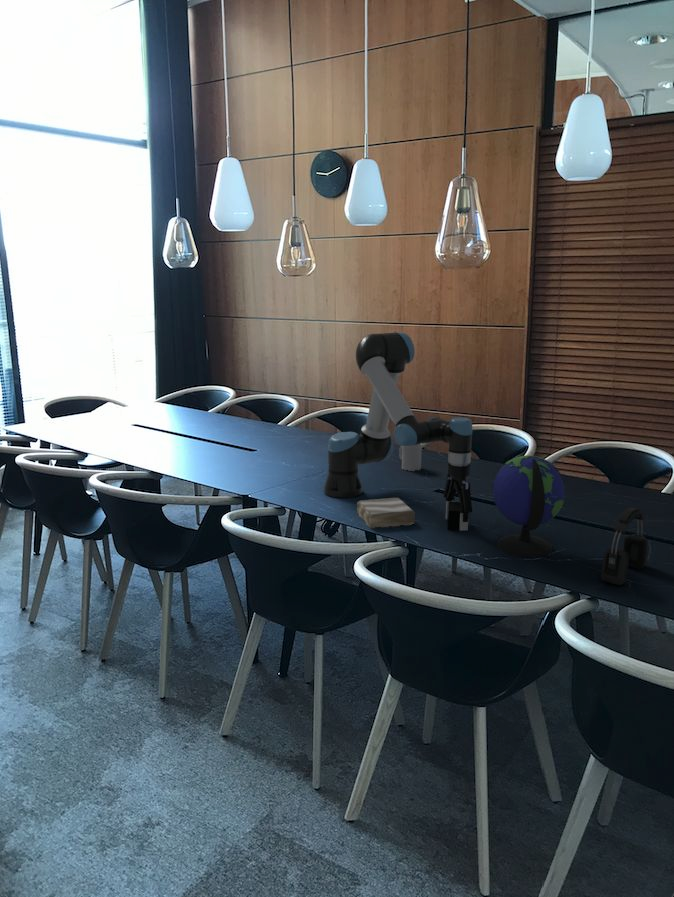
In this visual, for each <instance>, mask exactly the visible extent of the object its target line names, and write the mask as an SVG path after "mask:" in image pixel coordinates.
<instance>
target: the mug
mask: <svg viewBox="0 0 674 897" xmlns="http://www.w3.org/2000/svg"><path fill="white" fill-rule="evenodd" d="M422 447H423V446H422V444H417V445H413V446H400V447H399V450H398V455H399V459H400V460H401V469H402V470H403V469H404V470H403V471H406V470H408V471H407V472H416V471H415V470H418V471H420V470H421V469H422V451H423V450H422V449H423V448H422ZM419 469H420V470H419Z"/></svg>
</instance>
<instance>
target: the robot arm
mask: <svg viewBox="0 0 674 897" xmlns="http://www.w3.org/2000/svg"><path fill="white" fill-rule="evenodd" d="M415 351H416V350H415V346H414V343H413V340H412V338H411V337H410V336H409V335H408V334H407V333H405V332H397V331H394V332H386V333H384V332H382V333H370V334H368V335H365V336H364V337H363V338H361V339H360V341H359V342H358V344H357V346H356V350H355V361H356V365H357V367H358V369H359V371H360V373H361V375H363V376H366V378H367V380H368V381H369V382H370V385H371V387H372V394H371V399H370V404H369V408H368V413H367V419H366V424H364V425H362V426H361V429H360V434H358V433H357V432H354V431H341V432H337V433H335V434H333V435H331V436H330V437H329V439H328V446H327V452H328V455H327V456H328V460H327V462H328V468H327V470H328V471H327V472H328V474H327V476H326V480H325V483H324V485H323V493H324V494H325V495H326V496H329V497H332V498H333V497H334V498H343V499H346V498H347V497H348V498H355V497H358V496H361V495H362V493H363V485H362V482H361V478H360V476H359V465H364V464H370V463H379V462H382V461H386V460H387V459H389V458H390V457H391V455H392V454H393V451H394V447H395V446H394V442H395V443H396V445H398V446H400V447H401V446H413V445H417V444H421V445H422V444H430V443H437V442H442V443H444V444H445V443H446V444H448V453H447V454H448V456H447V458H448V459H447V462H448V464H447V473H446V483H445V487H444V491H443V498H445V501H446V502H445V503H446V504H445V505H446V506H445V520H447V521H448V509H449V502H455V500H456V498H455V497H456V494H457V495H458V499H459V502H460V505H461V510H462V511H460V529H459V530H460V531H459V530H458V531H459V532H461V531H469V530H468V529H469V513H472V512H473V505H472V497H471V495H472V494H471V483H470V482H467V479H466V478H467V477H468V476H470V475H471V458H472V443H473V421H472V420H471V419H470V418H469V417H462V416H459V417H452V418H450V420H447V419H444V418H441V417H434V416H433V417H430V418H428V419H426V421H418V419H417V417H416V416H415V415H414V413H413V411H412V409H411V408H410V406H409V404H408V403H407V401H406V399H405V397H404V395H403V393H401V391H400V389H399V387H398V381H399V377H400V375H401V374H402V373H404V372H405V369H406V365H407V364H410V363H411V362H412V361H413V360H414V357H415V354H416V353H415ZM390 419H391V421H392V423H393V425H394V426H395V427H394V430H393V436H394V439H393V436H392V434H391V431H390V430H389V429H388V428H389V422H390Z"/></svg>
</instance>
